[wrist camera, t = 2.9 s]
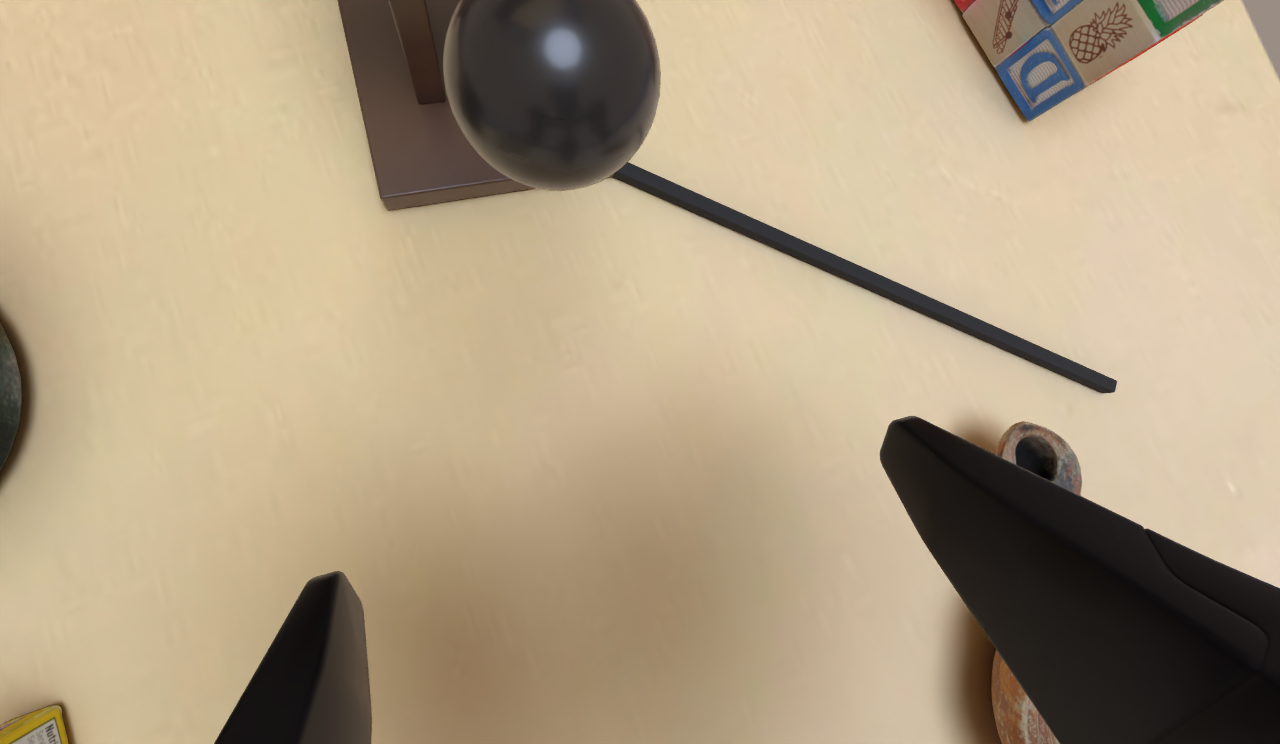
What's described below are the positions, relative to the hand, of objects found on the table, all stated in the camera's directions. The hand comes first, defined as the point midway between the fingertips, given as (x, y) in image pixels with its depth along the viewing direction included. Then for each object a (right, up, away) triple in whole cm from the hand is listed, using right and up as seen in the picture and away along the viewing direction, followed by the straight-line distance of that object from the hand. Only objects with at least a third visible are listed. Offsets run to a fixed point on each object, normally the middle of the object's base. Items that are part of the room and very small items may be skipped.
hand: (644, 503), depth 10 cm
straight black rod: (+10, +6, +17) cm, 21 cm away
